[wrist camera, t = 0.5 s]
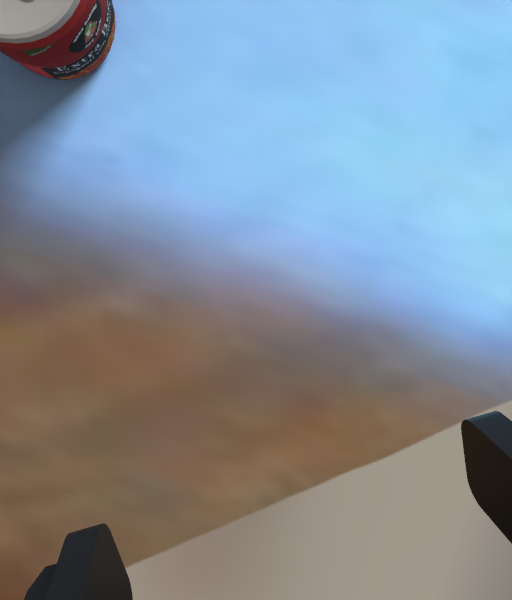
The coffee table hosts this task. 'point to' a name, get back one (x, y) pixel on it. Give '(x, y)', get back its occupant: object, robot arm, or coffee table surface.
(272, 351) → the coffee table surface
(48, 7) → the canned food
